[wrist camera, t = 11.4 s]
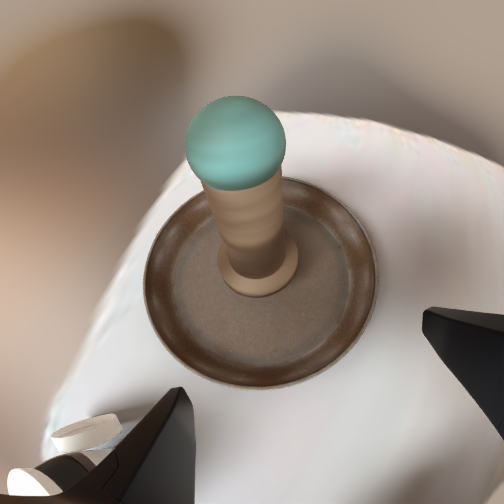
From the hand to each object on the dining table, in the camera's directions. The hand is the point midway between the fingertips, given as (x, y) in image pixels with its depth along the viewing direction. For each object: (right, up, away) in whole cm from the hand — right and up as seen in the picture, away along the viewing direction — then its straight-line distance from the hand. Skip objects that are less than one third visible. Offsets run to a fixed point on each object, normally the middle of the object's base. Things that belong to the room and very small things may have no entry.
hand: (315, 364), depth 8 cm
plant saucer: (-1, +1, +17) cm, 17 cm away
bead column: (-2, +3, +14) cm, 15 cm away
